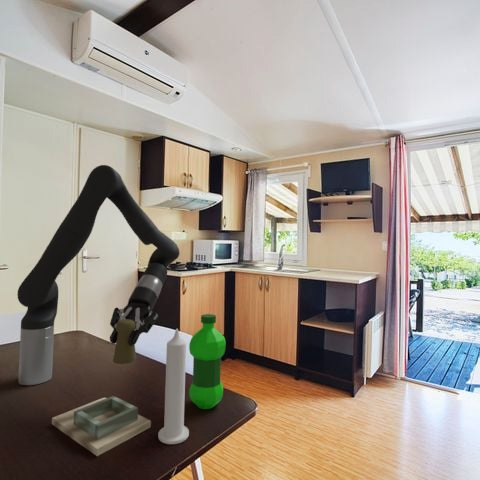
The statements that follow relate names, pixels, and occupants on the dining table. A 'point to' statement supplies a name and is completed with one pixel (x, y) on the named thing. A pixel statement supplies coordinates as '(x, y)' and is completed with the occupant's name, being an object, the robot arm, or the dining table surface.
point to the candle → (174, 393)
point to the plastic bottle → (207, 364)
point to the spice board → (102, 424)
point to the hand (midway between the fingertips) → (121, 343)
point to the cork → (124, 342)
